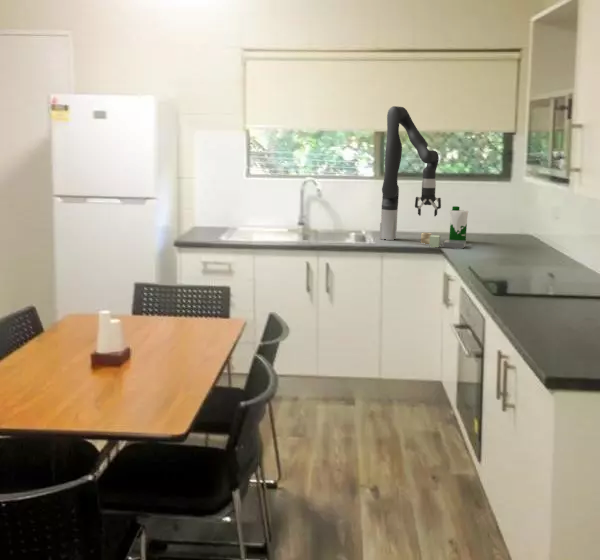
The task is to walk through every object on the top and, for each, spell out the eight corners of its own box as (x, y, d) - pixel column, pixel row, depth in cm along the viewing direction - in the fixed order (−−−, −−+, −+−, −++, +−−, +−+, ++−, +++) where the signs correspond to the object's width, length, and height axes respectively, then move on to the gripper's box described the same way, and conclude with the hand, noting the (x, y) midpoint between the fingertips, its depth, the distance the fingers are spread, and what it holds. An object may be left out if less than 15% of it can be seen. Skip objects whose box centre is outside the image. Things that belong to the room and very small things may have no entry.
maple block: (420, 244, 471) (421, 233, 470) (422, 243, 476) (422, 232, 475) (429, 244, 470) (430, 234, 469) (430, 243, 475) (431, 233, 474)
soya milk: (453, 240, 489) (455, 205, 485) (468, 241, 484) (470, 207, 480) (446, 241, 482) (448, 206, 478) (461, 243, 477) (463, 208, 473)
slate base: (443, 247, 460) (443, 242, 460) (445, 244, 471) (446, 239, 470) (463, 248, 457) (464, 243, 457) (465, 246, 468) (465, 240, 467)
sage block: (429, 247, 461) (429, 236, 460) (430, 245, 466) (431, 235, 465) (438, 247, 460) (439, 236, 459) (439, 246, 465) (440, 235, 464)
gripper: (414, 186, 465) (413, 216, 468) (440, 187, 462) (439, 217, 465) (416, 185, 472) (415, 214, 476) (442, 186, 469) (441, 215, 472)
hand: (427, 215), depth 470 cm, fingers open, 8 cm apart
